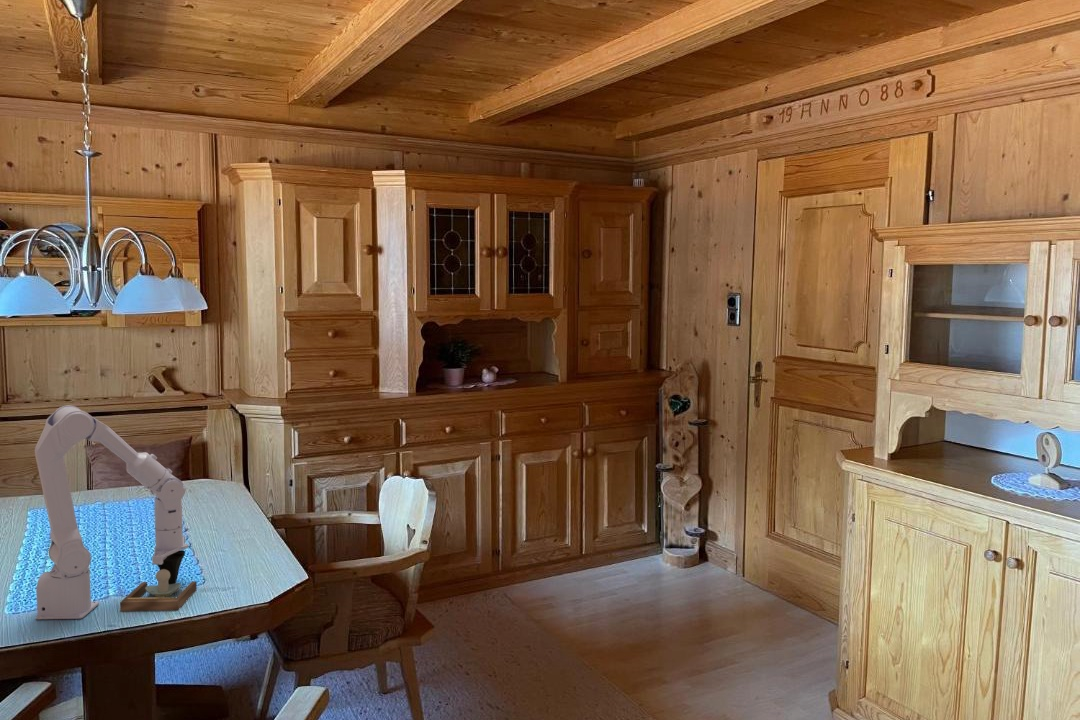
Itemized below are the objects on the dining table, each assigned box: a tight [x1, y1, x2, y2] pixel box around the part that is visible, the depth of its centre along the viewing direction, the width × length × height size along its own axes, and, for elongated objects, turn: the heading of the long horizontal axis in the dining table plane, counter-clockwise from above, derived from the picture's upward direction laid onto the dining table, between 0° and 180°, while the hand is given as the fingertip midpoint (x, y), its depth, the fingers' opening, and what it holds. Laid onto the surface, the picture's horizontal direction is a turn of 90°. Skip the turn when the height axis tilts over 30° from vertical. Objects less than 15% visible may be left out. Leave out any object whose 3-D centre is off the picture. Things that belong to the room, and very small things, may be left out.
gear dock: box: [119, 580, 198, 612], centre depth 176 cm, size 12×12×2 cm
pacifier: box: [145, 569, 182, 597], centre depth 179 cm, size 7×6×6 cm
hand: (170, 584), depth 182 cm, fingers closed
